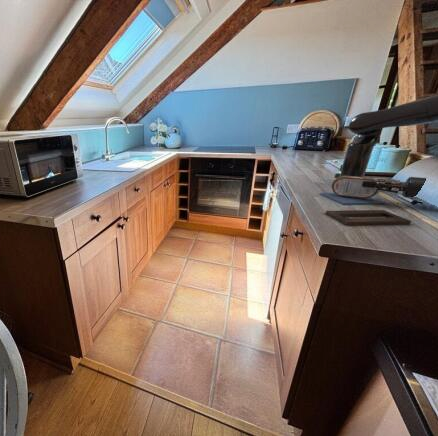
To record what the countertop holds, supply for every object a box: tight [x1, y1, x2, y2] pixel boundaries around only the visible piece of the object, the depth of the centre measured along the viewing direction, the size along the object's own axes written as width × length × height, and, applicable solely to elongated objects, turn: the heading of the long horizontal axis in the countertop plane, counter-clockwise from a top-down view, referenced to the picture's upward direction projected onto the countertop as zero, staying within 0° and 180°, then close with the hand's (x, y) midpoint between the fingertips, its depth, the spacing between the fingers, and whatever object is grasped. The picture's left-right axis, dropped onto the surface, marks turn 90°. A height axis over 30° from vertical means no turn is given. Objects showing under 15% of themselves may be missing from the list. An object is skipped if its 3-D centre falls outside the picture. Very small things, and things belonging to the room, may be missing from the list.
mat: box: [320, 192, 386, 205], centre depth 101 cm, size 14×16×1 cm
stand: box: [325, 209, 412, 226], centre depth 82 cm, size 10×20×1 cm, turn 89°
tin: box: [331, 176, 379, 198], centre depth 99 cm, size 15×3×8 cm, turn 54°
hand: (362, 183), depth 98 cm, fingers closed on tin, 2 cm apart
